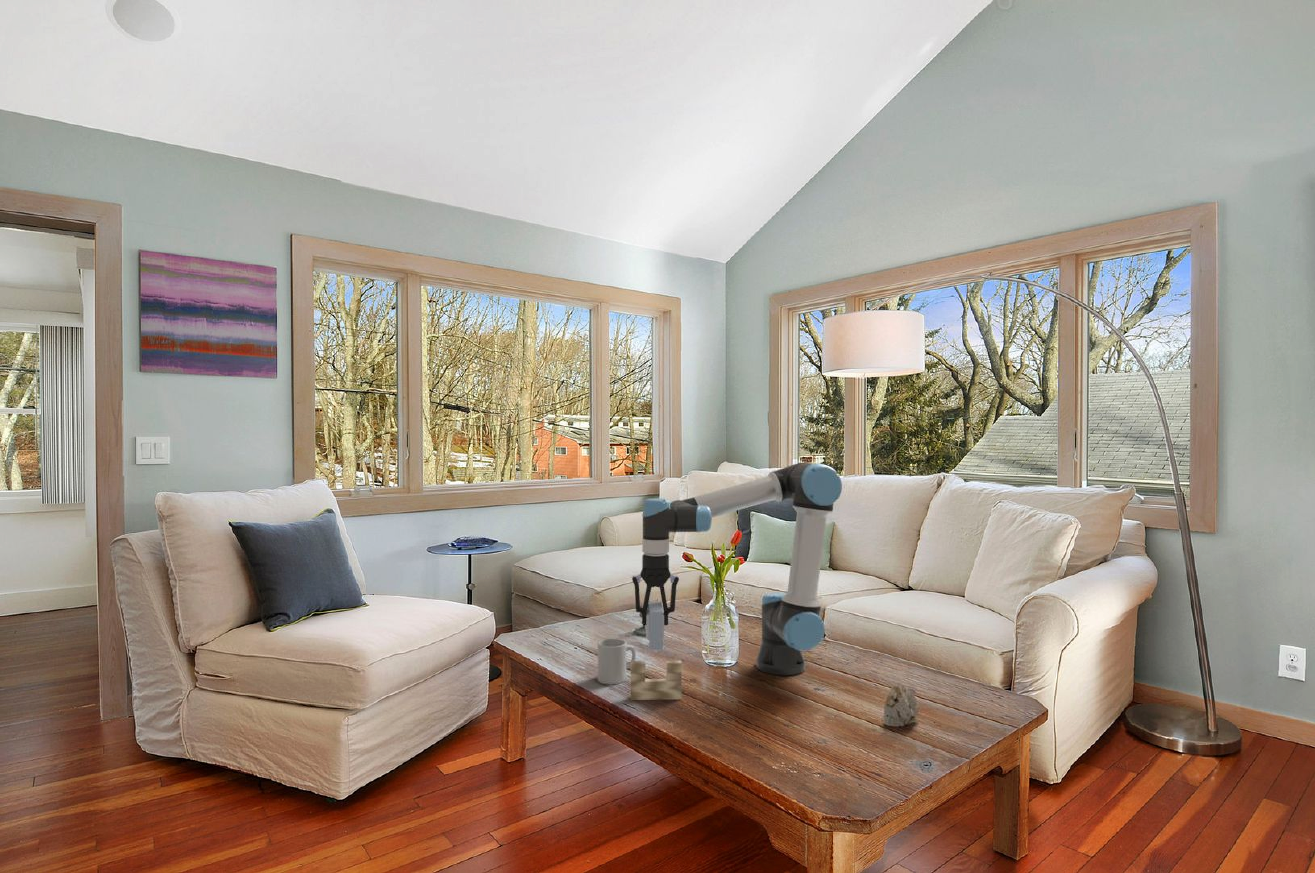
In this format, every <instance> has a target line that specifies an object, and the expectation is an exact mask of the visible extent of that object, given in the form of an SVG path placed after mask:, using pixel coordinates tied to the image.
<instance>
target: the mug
mask: <svg viewBox="0 0 1315 873" xmlns="http://www.w3.org/2000/svg"><path fill="white" fill-rule="evenodd" d="M628 651H630V652H631V660H630V661H629V662H627V652H628ZM636 657H637V656H636V650H635V647H634V646H633V645H631V644H627V641H625V640H624V639H619V638H605V639H601V640H599V641H598V643H597V681H598V682H599V683H601V684H604V685H618V684H622V683H624V682H625V681H626V680H627V669H629V668H630V669H631V661H636Z"/></svg>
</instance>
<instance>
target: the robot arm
mask: <svg viewBox="0 0 1315 873" xmlns="http://www.w3.org/2000/svg"><path fill="white" fill-rule="evenodd" d="M842 491H843V482H842V479H841V477H840V474H838V471H836V470H835V469H834V468H833V467H831V466H829V465H825V464H824V463H815V462H814V463H811V462H799V463H794V464H792V465H789V466H786V467H782V468H780V469H777V470H773V471H771V472H769V473H768V475H767V476H764V477H760V478H757V479H754V480H753V479H752V480H749V481H746V482H743V483H739V484H737V485H733V486H729V487H726V488H722V489H718V490H715V491H710V492H708V493H703V494H700V495H696V496H693V497H691V498H686V499H682V500H681V499H676V500H673V501H671V502H670V500H669V499H667V498H647V499H645V500H644V501H643V504H642V544H641V545H642V553H643V554H642V560H641V561H642V562H641V563H642V564H641V565H642V566H641V571H640V573H639V574H636V575H632V577H631V580H632V583H633V586H634V594H635V598H634V599H635V611H636V613H639V614H640V613H642V618H641V624H642V626H643V625H645V626H646V637H645V639H649V612H647V608H648V604H649V601H650V596H651V591H652V588H655V587H657V588H659V590H660V597H661V603H662V609H663V639H665V626H668V625H669V614H670V613H675V611H676V599H677V598H676V595H677V585H678V583H679V581H680V578H679V576H678V575H674V574H672V573H671V571H670V555H669V554H668V553H669V552H670V533H698V534H699V533H701V532H702V533H704V532H708V531H709V530H710V529H711V527H712V518H716V517H719V516H722V515H725V514H730V513H733V512H736V511H741V510H744V509H747V508H749V507H754V506H757V505H761V504H765V503H767V502H771V501H776V502H778V503H781V502H784V501H789V500H790V501H791V500H792V508H793V509H794V510H795V511H796V520H795V527H794V534H793V535H794V536H793V542H792V551H791V561H790V568H789V570H790V571H789V578H788V585H787V592H786V593H785V592H774V593H767V594H764V595H763V596H762V599H761V605H760V606H761V643H760V647H759V649H758V653H757V655H756V660H755V661H756V664H755V665H756V669H758V670H759V671H761V672H763V673H766V674H770V675H777V676H793V675H799V674H801V673H803V672H805V671H806V660H805V658H804V654H803V652H807V651H810V650H813V649H815V648H816V647H817V646H819V645H820V644H821V642H822V641H823V639H824V637H825V632H826V628H825V623H824V621H823V619H822V618H821V611H822V610H821V609H822V603H821V602H820V601H819V599H818V590H819V583H820V576H821V575H820V573H821V566H822V565H821V564H822V557H823V549H824V540H825V531H826V525H827V524H826V523H827V518H828V516H830V515H831V514H832V513H833V512H834V503H835V502H836V501H838V499H840V496H841V494H842ZM641 579H642V580H643V581H644V583H645V585H646V588H645V594H644V598H643V603H642V604H643V606H642V607H640V606H641V602H640V601H641V600H640V583H641ZM669 579H670V583H671V588H670V599H669V600H670V603H669V607H668V602H667V596H666V590H665V584H666V583H667V582H668V581H669Z"/></svg>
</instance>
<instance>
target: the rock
mask: <svg viewBox="0 0 1315 873" xmlns="http://www.w3.org/2000/svg"><path fill="white" fill-rule="evenodd" d="M915 695H916V690H915V689H913V688H908V687H905V686H904V685H895V686H891V687H890V690H889V692H888V695H887V697H886V700H885V701H884V706H883V724H884V725H886V726H888V727H904V726H905V725H910V724H914V723H915V722H916V721H917V716H918V715H919V710H920V706H919V705H920V704H919V702H918V700H917V698H916V696H915Z"/></svg>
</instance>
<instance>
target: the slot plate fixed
mask: <svg viewBox="0 0 1315 873" xmlns="http://www.w3.org/2000/svg"><path fill="white" fill-rule="evenodd" d="M630 661H631V660H630ZM682 668H683V667H682V660H666V678H646V661H645V660H635V661H631V667H630V701H651V700H655V701H657V700H659V701H661V700H666V701H667V700H682V687H683V686H682V683H683V681H682V680H683V679H682V676H683V675H682V673H683V672H682V671H683V670H682Z"/></svg>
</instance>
